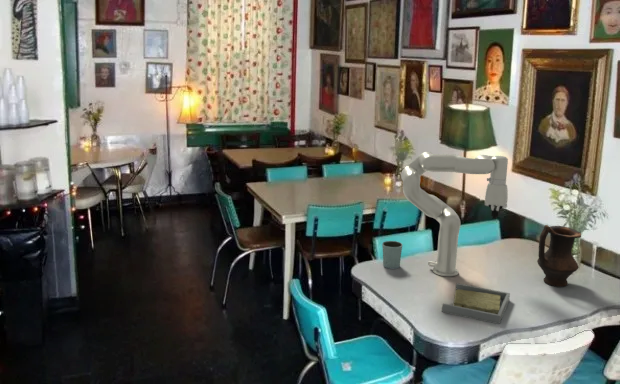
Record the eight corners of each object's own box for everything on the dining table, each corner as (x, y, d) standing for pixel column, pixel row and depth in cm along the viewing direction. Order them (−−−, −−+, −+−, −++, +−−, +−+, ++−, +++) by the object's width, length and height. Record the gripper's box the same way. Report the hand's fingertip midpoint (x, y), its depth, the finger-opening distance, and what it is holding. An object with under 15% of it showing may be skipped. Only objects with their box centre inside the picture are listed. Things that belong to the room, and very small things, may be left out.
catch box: (441, 311, 264) (442, 304, 264) (456, 290, 288) (456, 283, 287) (499, 323, 254) (500, 316, 254) (509, 300, 278) (510, 293, 277)
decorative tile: (455, 294, 284) (455, 287, 284) (500, 300, 279) (501, 293, 278) (451, 310, 267) (452, 303, 266) (499, 317, 261) (500, 310, 261)
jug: (558, 274, 312) (565, 217, 305) (584, 287, 295) (593, 227, 288) (523, 278, 305) (529, 220, 298) (548, 292, 288) (555, 231, 281)
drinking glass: (404, 265, 319) (405, 243, 316) (395, 271, 310) (397, 248, 308) (386, 261, 324) (387, 239, 321) (377, 266, 316) (379, 244, 313)
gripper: (480, 181, 299) (477, 217, 303) (512, 184, 292) (509, 222, 296) (483, 178, 305) (480, 214, 310) (515, 181, 299) (511, 218, 303)
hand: (494, 217), depth 303 cm, fingers closed
